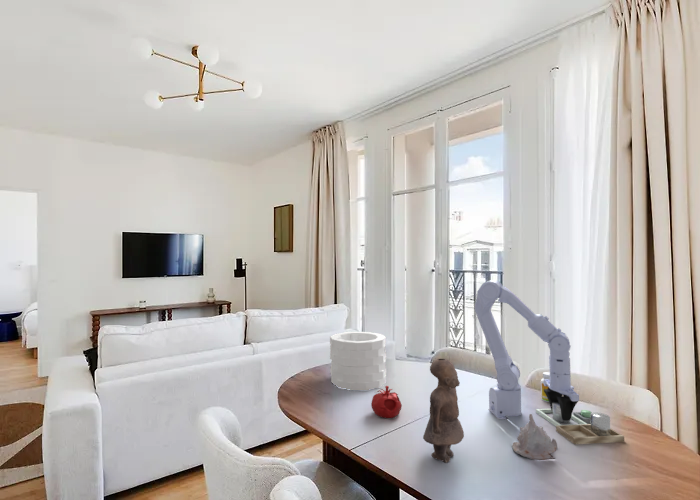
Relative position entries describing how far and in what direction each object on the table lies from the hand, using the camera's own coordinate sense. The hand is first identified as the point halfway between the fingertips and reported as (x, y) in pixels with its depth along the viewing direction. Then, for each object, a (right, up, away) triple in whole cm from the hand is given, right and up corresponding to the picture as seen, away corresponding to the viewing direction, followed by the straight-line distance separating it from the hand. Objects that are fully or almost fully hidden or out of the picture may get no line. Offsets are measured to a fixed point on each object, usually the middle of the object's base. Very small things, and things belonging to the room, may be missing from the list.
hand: (561, 416), depth 117 cm
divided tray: (+2, -2, -11) cm, 11 cm away
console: (+8, -2, -1) cm, 8 cm away
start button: (+8, 0, 0) cm, 8 cm away
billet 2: (+5, -1, -11) cm, 12 cm away
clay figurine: (-41, -2, -19) cm, 45 cm away
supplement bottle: (+6, -3, +18) cm, 20 cm away
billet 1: (0, -2, 0) cm, 2 cm away
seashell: (-16, -2, -17) cm, 23 cm away
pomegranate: (-53, -3, +8) cm, 54 cm away
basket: (-62, -4, +43) cm, 76 cm away
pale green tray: (0, -2, 0) cm, 2 cm away
